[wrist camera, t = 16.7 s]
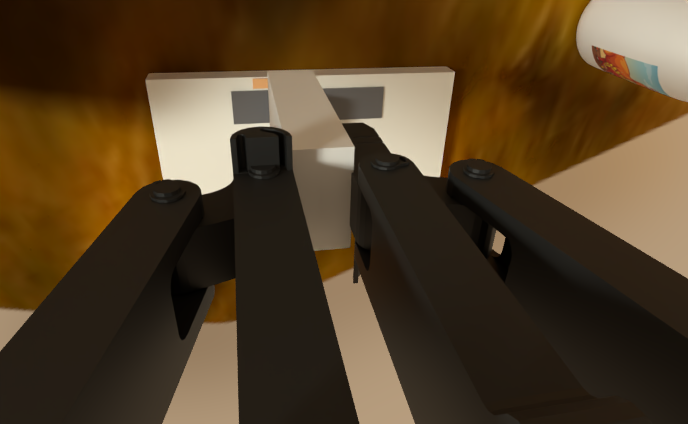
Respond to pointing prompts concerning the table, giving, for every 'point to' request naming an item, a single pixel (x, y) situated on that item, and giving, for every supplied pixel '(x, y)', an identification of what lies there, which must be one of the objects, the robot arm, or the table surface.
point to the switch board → (253, 111)
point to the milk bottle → (638, 42)
